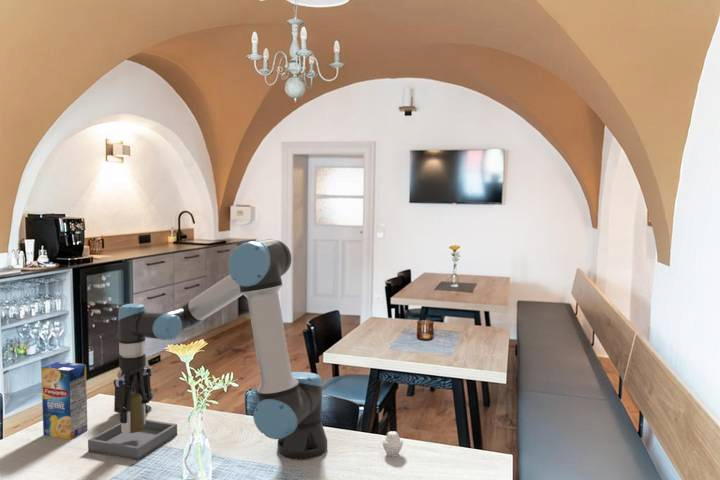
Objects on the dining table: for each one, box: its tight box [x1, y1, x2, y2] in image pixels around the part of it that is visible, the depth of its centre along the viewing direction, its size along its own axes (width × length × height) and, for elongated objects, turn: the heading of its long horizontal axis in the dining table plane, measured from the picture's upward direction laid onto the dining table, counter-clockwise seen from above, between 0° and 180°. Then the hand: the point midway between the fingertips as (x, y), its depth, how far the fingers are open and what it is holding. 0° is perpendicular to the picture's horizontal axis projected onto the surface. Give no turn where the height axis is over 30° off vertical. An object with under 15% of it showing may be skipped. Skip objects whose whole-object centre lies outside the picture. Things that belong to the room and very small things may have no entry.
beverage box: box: [40, 361, 89, 440], centre depth 170 cm, size 7×11×22 cm, turn 74°
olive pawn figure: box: [128, 393, 144, 433], centre depth 163 cm, size 6×6×11 cm
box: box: [87, 419, 178, 461], centre depth 164 cm, size 18×18×4 cm
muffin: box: [381, 431, 404, 458], centre depth 158 cm, size 6×6×7 cm
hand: (133, 427), depth 164 cm, fingers closed on olive pawn figure, 6 cm apart
